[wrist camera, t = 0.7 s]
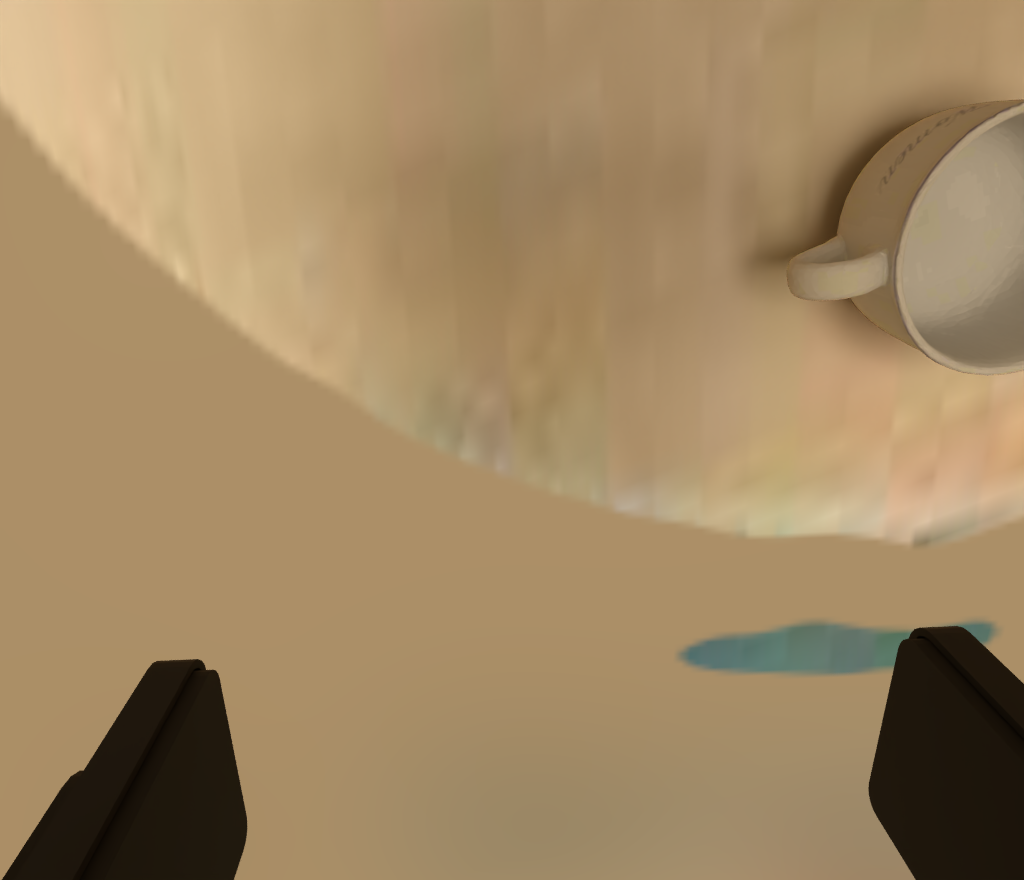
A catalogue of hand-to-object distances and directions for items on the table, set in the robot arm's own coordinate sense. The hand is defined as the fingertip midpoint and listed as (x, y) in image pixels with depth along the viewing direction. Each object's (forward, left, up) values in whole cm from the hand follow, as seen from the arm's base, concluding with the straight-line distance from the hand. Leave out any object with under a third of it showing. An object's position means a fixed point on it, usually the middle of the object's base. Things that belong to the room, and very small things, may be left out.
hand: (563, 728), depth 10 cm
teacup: (-11, +16, -28) cm, 35 cm away
